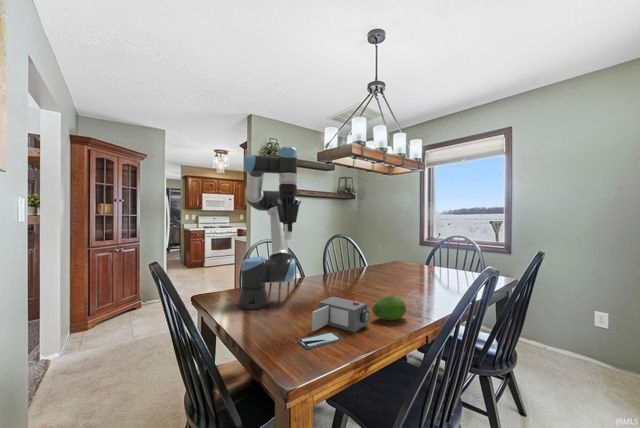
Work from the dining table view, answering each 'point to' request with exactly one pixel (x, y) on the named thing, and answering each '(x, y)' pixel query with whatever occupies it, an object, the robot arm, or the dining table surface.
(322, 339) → the smartphone
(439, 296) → the dining table surface
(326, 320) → the door
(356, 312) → the camera body
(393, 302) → the fruit
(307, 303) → the dining table surface
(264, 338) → the dining table surface
